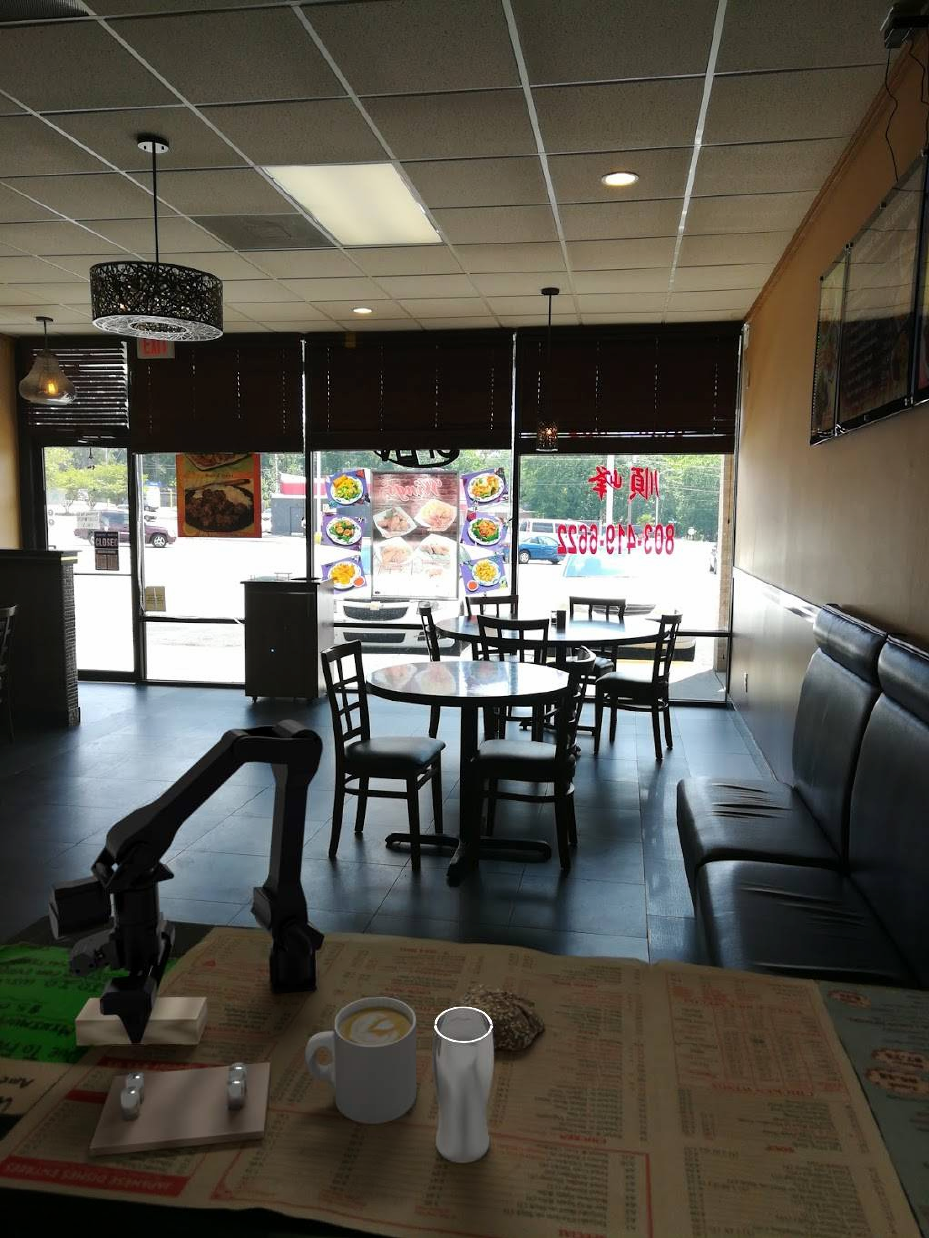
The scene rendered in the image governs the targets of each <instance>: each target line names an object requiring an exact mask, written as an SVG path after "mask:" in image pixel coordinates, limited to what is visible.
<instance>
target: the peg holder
mask: <svg viewBox="0 0 929 1238" xmlns="http://www.w3.org/2000/svg"><path fill="white" fill-rule="evenodd" d="M270 1077H271V1062H270V1061H269V1062H267V1061H266V1062H257V1063H249V1064H248V1063H247V1064H246V1063H243V1062H239V1061H238V1062H235V1063H232V1064H231V1065H226V1066H225V1065H224V1066H215V1067H214V1066H213V1067H202V1068H193V1069H183V1070H181V1069H180V1070H172V1071H171V1070H170V1071H169V1070H168V1071H160V1072H159V1071H158V1072H151V1073H150V1072H148V1073H143V1072H141V1071H134V1072H130V1073H129V1074H125V1075H117V1076H116V1075H115V1076H114V1077H113V1080H112V1083H111V1086H110V1088H109V1091H108V1094H107V1097H106V1100H105V1103H104V1105H103V1108H102V1111H101V1113H100V1117H99V1120H98V1123H97V1125H96V1128H95V1131H94V1134H93V1138H92V1140H91V1143H90V1144H89V1145H90V1146H89V1157H96V1156H107V1155H116V1154H117V1155H118V1154H127V1153H136V1152H146V1151H154V1150H164V1149H176V1148H183V1147H191V1146H192V1147H193V1146H202V1145H204V1146H205V1145H212V1144H222V1143H231V1142H241V1141H252V1140H260V1139H264V1138H265V1130H266V1129H265V1128H266V1120H267V1109H268V1099H269V1098H268V1097H269V1088H270Z"/></svg>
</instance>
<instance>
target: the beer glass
mask: <svg viewBox="0 0 929 1238" xmlns="http://www.w3.org/2000/svg"><path fill="white" fill-rule="evenodd" d="M432 1037H433V1039H432V1047H431V1048H432V1052H431V1056H432V1057H431V1061H432V1062H431V1063H432V1065H431V1067H432V1075H433V1076H432V1077H433V1082H434V1088H435V1093H436V1099H437V1103H438V1111H439V1112H438V1113H439V1121H438V1127H437V1132H436V1137H435V1146H436V1149H437V1151H438V1152H439V1154H440V1155H441V1156H442V1157H443V1158H444V1159H446V1160H448V1161H450V1162H452V1163H458V1164H468V1163H473V1162H475V1161H477V1160H480V1159H481V1158H483V1156H485V1154H486V1153H487V1151H488V1149H489V1147H490V1136H489V1132H488V1131H489V1130H488V1126H487V1108H488V1103H489V1099H490V1093H491V1088H492V1084H493V1077H494V1071H495V1069H494V1068H495V1050H494V1040H493V1023H492V1020H491V1018H490V1017H489V1016H488V1015H487V1014H486V1013H484V1012H483V1011H481V1010H478V1009H475V1008H471V1007H456V1008H455V1007H453V1008H448V1009H446V1010H444V1011H442V1012H440V1013H439V1015H437V1017H436V1018H435V1020H434V1023H433V1036H432Z"/></svg>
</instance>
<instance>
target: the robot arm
mask: <svg viewBox="0 0 929 1238" xmlns="http://www.w3.org/2000/svg"><path fill="white" fill-rule="evenodd" d="M323 751H324V742H323V739H322V737H321V736H320V735H319V734H318V733H317V732H316V731H315V730H313V729H310V727H307V726H305V725H304V724H302V723H300V722H298V721H297V720H294V719H284V720H281V721H279V722H277V723H276V724H274V725H273V724H265V725H255V726H251V727H246V728H232V729H228V730H226V731H225V732H224V733H223V735H222V736H221V737H220V739H219V740H218V741H217V743H215V744H214V745H213V746H212V747H211V748H210V749H209V750H208V751H207V752H206V753H205V754H204V755H203V756H202V757H200V758H199V760H197V761H196V762H195V763H194V764H193V765H192V766H191V767H190V768H188V770H187V771H186V772H185V773H183V775H181V776H180V777H179V778H178V779H177V780H176V781H175V782H174V783H173V784H172V785H171V786H170V787H169V788H168V789H167V790H166V791H164V792H163V793H162V794H161V795H160V796H159V797H158V798H156V799H155V800H153V801H152V802H151V803H149V804H146V805H143V806H141V807H138V808H137V809H134V810H132V812H130V813H129V814H127V815H126V816H125V817H123V818H121V819H120V820H119V821H117V822H116V823H115V824H113V825H112V826H111V827H110V829H109V830H108V831H107V833H106V835H105V837H106V838H105V845H104V846H103V849H101V851H100V853H99V854H98V856H97V858H96V859H95V861H94V862H93V863H92V865H91V867H90V871H91V873H92V874H93V875H91V876H86V877H82V878H78V879H74V880H69V881H59V882H55V883H52V884H51V893H50V895H49V896H50V897H49V902H48V913H49V914H48V915H49V920H50V921H49V922H50V925H51V930H52V933H53V937H54V939H55V940H59V939H62V938H66V937H70V936H74V935H77V934H81V933H84V932H89V931H91V930H95V929H96V930H97V929H100V928H102V927H104V926H105V925H107V924H109V921H110V917H112V914H113V919H114V921H113V922H114V925H113V927H112V928H109V929H105V930H102V931H99V932H97V933H94V934H91V935H88V936H86V937H85V938H82V939H80V940H78V941H77V942H76V943H75V944H74V946H73V948H72V949H71V952H70V953H69V955H68V959H69V960H68V965H69V969H68V973H70V974H74V976H75V977H77V978H79V979H83V978H85V977H87V976H88V975H91V974H94V973H96V972H97V971H99V970H102V969H104V968H106V967H108V966H109V972H114V971H115V972H116V971H120V970H121V969H123V971H126V972H129V974H128V975H126V976H117V977H116V976H115V977H114V976H113V977H112V978H111V979H110V980H109V981H107V983H106V984H105V986H104V987H103V991H102V993H101V995H100V997H99V998H100V1000H99V1001H100V1013H101V1014H102V1015H117V1016H119V1018H120V1019H121V1021H122V1023H123V1025H124V1027H125V1030H126V1032H127V1034H128V1036H129V1039H130V1041H131V1043H132V1044H140V1043H141V1040H142V1038H143V1035H144V1032H145V1029H146V1026H147V1024H148V1021H149V1018H150V1015H151V1012H152V1009H153V1007H154V1004H155V1000H156V998H158V996H157V995H158V994H157V993H158V991H159V988H160V986H161V982H162V980H163V976H164V973H165V971H166V969H167V965H168V962H169V960H170V956H171V954H172V951H173V948H174V942H175V938H176V929H175V924H173V922H172V921H170V920H169V919H164V911H161V909H160V891H159V883H161V882H164V881H168V880H172V879H174V878H175V873H174V872H173V871H172V870H171V869H170V867H169V866H168V865H167V864H165V863H163V862H161V860H162V858H163V857H164V856H165V854H166V853H167V852H168V850H169V849H170V847H171V846H172V844H173V843H174V840H175V837H176V835H177V834H178V831H179V829H181V827H182V825H183V824H184V823H185V822H186V821H187V820H188V819H189V818H190V817H191V816H192V815H193V814H194V813H195V812H197V810H198V809H199V808H201V807H202V805H204V804H205V803H206V802H207V800H209V798H211V797H212V796H213V795H214V794H215V793H216V791H218V790H219V789H220V788H221V787H222V786H223V785H225V783H226V782H227V781H229V780H230V778H231V777H232V776H233V775H235V774H236V773H237V771H238V770H239V769H240V768H242V767H243V766H244V764H247V763H259V764H260V763H262V764H270V769H271V771H272V775H273V779H274V783H275V784H274V785H275V786H274V800H273V813H272V824H271V827H272V828H271V840H270V851H269V852H270V853H269V866H268V875H267V878H266V880H265V881H264V883H263V884H262V886H254V887H253V888H252V893H253V894H252V895H253V896H252V897H253V902H252V906H251V909H250V911H249V912H250V913H251V914H252V915H253V917H254V919H255V922H256V923H257V924H258V926H259V927H260V928H261V929H262V930H263V931H264V932H265V933H266V934H267V936H268V937H269V938H270V939H272V941H273V943H272V947H270V949H269V954H268V968H269V970H268V971H269V982H270V983H272V987H271V988H272V993H286V992H299V991H309V990H310V991H311V990H313V991H314V990H316V989H318V978H319V977H318V976H319V975H318V972H319V971H318V968H319V967H318V966H319V965H318V962H317V951H319V950H321V949H322V946H323V943H324V939H325V934H324V933H323V932H321V930H319V929H318V928H317V927H316V926H315V925H314V923H312V922H311V921H310V919H309V911H308V902H307V898H306V896H305V891H304V889H303V886H302V868H303V867H302V866H303V856H304V855H303V853H304V842H305V830H306V815H307V805H308V792H309V791H308V790H309V787H310V784H311V783H312V781H313V779H315V776H316V774H317V773H318V771H319V768H320V764H321V763H320V762H321V759H322V755H323ZM114 865H117V867H116V869H115V870H114V868H113V866H114ZM111 895H112V900H111ZM112 905H113V907H112ZM112 908H113V910H112ZM112 912H113V913H112Z"/></svg>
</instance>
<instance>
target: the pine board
mask: <svg viewBox="0 0 929 1238" xmlns="http://www.w3.org/2000/svg"><path fill="white" fill-rule="evenodd" d="M207 998H208V997H207V996H192V997H191V996H190V997H189V996H184V997H183V996H178V997H175V996H173V997H172V996H171V997H167V996H166V997H165V996H163V997H158V996H157V997H156V1000H155V1004H154V1007H153V1009H152V1012H151V1015H150V1018H149V1021H148V1024H147V1026H146V1029H145V1032H144V1035H143V1038H142V1040H141V1043H140V1044H142V1045H141V1046H149V1045H148V1044H181V1045H182V1044H183V1045H199V1043H200V1041H201V1038H202V1036H203V1033H204V1031H205V1029H206V1027H205V1025H206V1026H207V1024H208V1022H209V1020H208V1019H209V1018H208V999H207ZM99 1000H100V997H89V999H88V1000H87V1002H86V1003H85V1005H84V1006H83V1007H82V1009H81V1011H80V1012H79V1014H78V1015H77V1017H76V1018H75V1020H74V1023H75V1024H74V1025H75V1038H76V1040H75V1041H76V1046H91V1045H90V1044H101V1043H112V1044H113V1043H114V1044H115V1043H116V1044H132V1043H131V1041H130V1039H129V1036H128V1034H127V1032H126V1030H125V1027H124V1025H123V1023H122V1021H121V1019H120V1018H119V1016H117V1015H102V1014H101V1013H100V1001H99ZM207 1021H208V1022H207ZM206 1023H207V1024H206ZM204 1028H205V1029H204ZM203 1030H204V1031H203ZM201 1035H202V1036H201ZM88 1044H89V1045H88ZM143 1044H144V1045H143ZM146 1044H147V1045H146Z"/></svg>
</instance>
